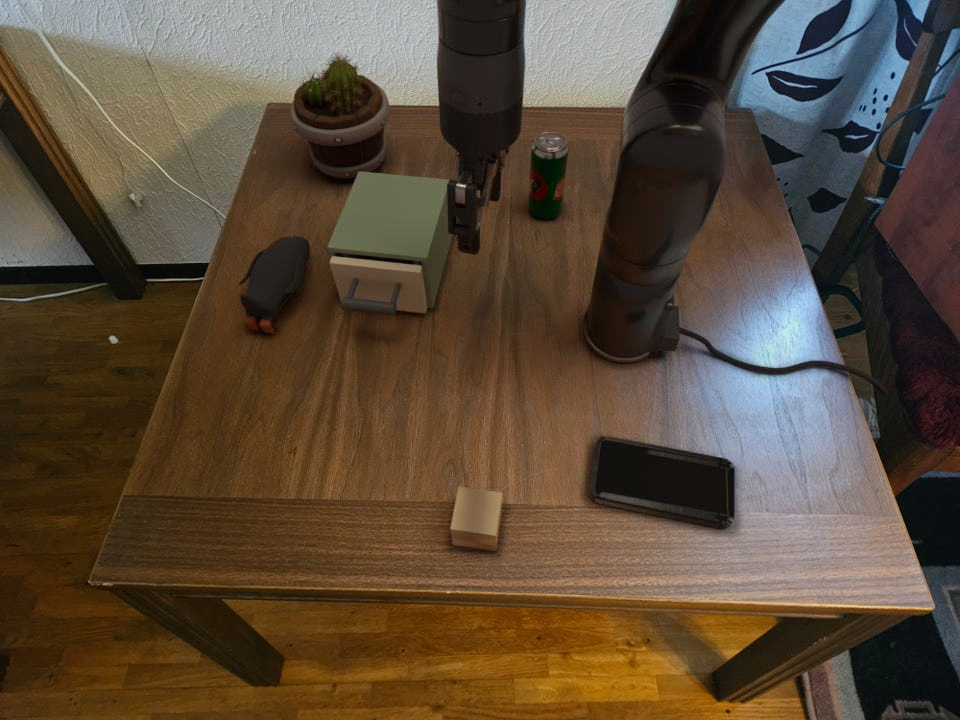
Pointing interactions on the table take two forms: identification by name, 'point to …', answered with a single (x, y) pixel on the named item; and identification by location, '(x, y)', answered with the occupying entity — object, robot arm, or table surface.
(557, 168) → the soda can
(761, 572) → the table surface
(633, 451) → the phone
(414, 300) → the drawer
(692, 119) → the robot arm
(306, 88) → the flowerpot
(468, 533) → the block
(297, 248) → the figurine
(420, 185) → the cabinet
